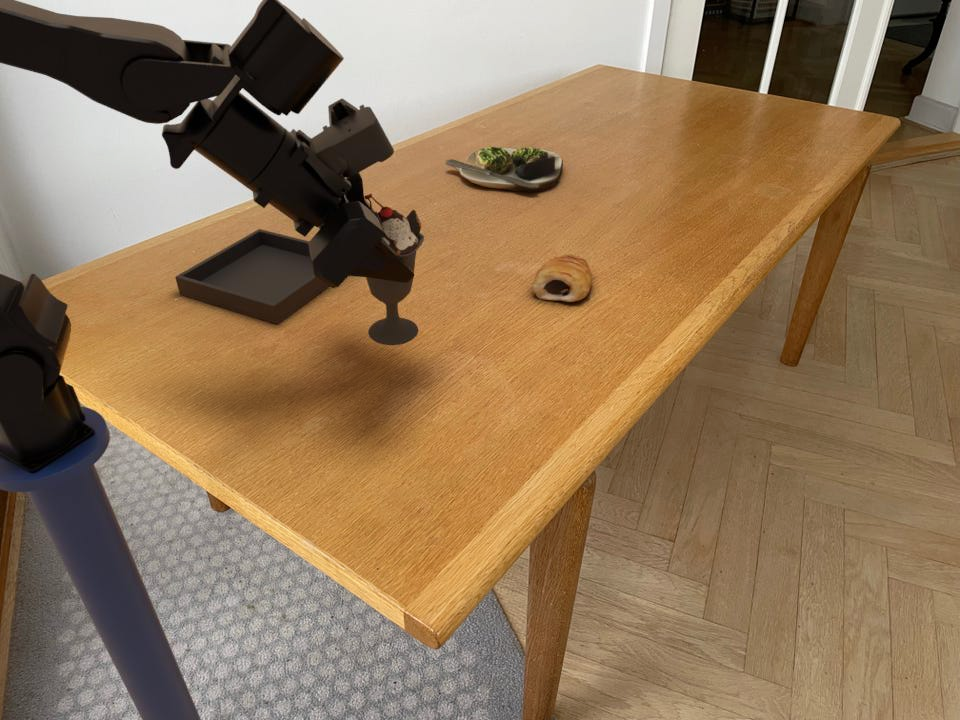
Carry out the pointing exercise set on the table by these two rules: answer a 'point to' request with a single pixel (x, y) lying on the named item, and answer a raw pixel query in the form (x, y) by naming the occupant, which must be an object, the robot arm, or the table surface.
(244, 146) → the robot arm
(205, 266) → the baking tray
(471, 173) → the salad plate
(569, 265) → the pastry
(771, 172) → the table surface
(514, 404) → the table surface
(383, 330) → the sundae
